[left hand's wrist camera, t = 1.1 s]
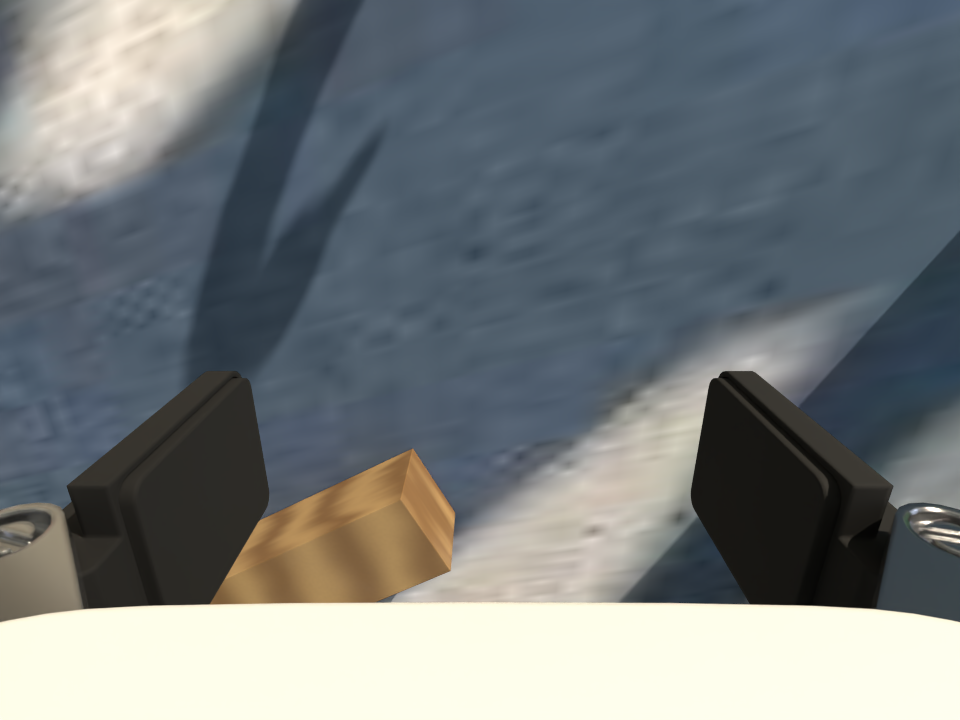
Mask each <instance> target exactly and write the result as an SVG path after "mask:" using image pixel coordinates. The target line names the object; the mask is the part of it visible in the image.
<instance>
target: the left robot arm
mask: <svg viewBox="0 0 960 720" xmlns="http://www.w3.org/2000/svg"><path fill="white" fill-rule="evenodd" d="M67 489H68V492H69V495H70V498H71V500H72V502H71V503H70V504H69V505H67V506H66V507H65V508H64V509H63V510H62V509H61V507H59V506H56V505H53V504H50V503H31V504H23V505H17V506H13V507H9V508H5V509H2V510H0V720H960V510H958V509H955V508H951V507H947V506H943V505H937V504H929V503H910V504H907V505H904V506H901V507H899V509H898V510H897V509H896V508H895V507H894V506H893V505H891V504H890V503H889V502H888V500H889V498H890V495H891V492H892V489H893V485H892V484H890V483H889V482H888V481H887V480H885V479H884V478H883V477H882V476H881V475H879V474H878V473H877V472H876V471H875V470H873V469H872V468H871V467H870V466H868V465H867V464H866V463H865V462H864V461H862V460H861V459H860V458H859V457H857V456H856V455H855V454H854V453H853V452H851V451H850V450H849V449H848V448H847V447H845V446H844V445H843V444H842V443H840V442H839V441H838V440H837V439H836V438H834V437H833V436H832V435H831V434H829V433H828V432H827V431H826V430H825V429H823V428H822V427H821V426H820V425H819V424H817V423H816V422H815V421H814V420H812V419H811V418H810V417H809V416H808V415H806V414H805V413H804V412H803V411H801V410H800V409H799V408H798V407H797V406H795V405H794V404H793V403H792V402H791V401H789V400H788V399H787V398H786V397H784V396H783V395H782V394H781V393H780V392H778V391H777V390H776V389H775V388H774V387H772V386H771V385H770V384H769V383H767V382H766V381H765V380H764V379H763V378H761V377H760V376H759V375H758V374H756V373H755V372H753V371H724V372H722V373H721V374H720V375H719V377H718V378H713V379H712V380H711V382H710V385H709V389H708V395H707V401H706V406H705V412H704V418H703V424H702V430H701V435H700V441H699V447H698V453H697V459H696V464H695V470H694V476H693V482H692V488H691V501H692V505H693V508H694V510H695V512H696V513H697V515H698V517H699V518H700V520H701V522H702V524H703V525H704V527H705V529H706V530H707V532H708V534H709V535H710V537H711V539H712V540H713V542H714V544H715V546H716V547H717V549H718V551H719V552H720V554H721V556H722V557H723V559H724V561H725V563H726V564H727V566H728V568H729V569H730V571H731V573H732V574H733V576H734V578H735V579H736V581H737V583H738V585H739V586H740V588H741V590H742V591H743V593H744V595H745V596H746V598H747V600H748V601H749V603H750V605H743V604H689V603H530V602H430V603H271V604H217V605H210V603H211V601H212V600H213V598H214V596H215V595H216V593H217V591H218V590H219V588H220V586H221V585H222V583H223V581H224V579H225V578H226V576H227V574H228V573H229V571H230V569H231V568H232V566H233V564H234V563H235V561H236V559H237V557H238V556H239V554H240V552H241V551H242V549H243V547H244V546H245V544H246V542H247V540H248V539H249V537H250V535H251V534H252V532H253V530H254V529H255V527H256V525H257V524H258V522H259V520H260V518H261V517H262V515H263V513H264V512H265V510H266V508H267V505H268V501H269V488H268V482H267V476H266V470H265V464H264V459H263V453H262V447H261V441H260V435H259V430H258V424H257V418H256V412H255V406H254V401H253V395H252V389H251V385H250V382H249V380H248V379H247V378H242V377H241V376H240V374H239V373H238V372H236V371H207V372H205V373H204V374H202V375H201V376H200V377H199V378H197V379H196V380H195V381H194V382H193V383H191V384H190V385H189V386H188V387H186V388H185V389H184V390H183V391H182V392H180V393H179V394H178V395H177V396H176V397H174V398H173V399H172V400H171V401H169V402H168V403H167V404H166V405H165V406H163V407H162V408H161V409H160V410H158V411H157V412H156V413H155V414H154V415H152V416H151V417H150V418H149V419H148V420H146V421H145V422H144V423H143V424H141V425H140V426H139V427H138V428H137V429H135V430H134V431H133V432H132V433H131V434H129V435H128V436H127V437H126V438H124V439H123V440H122V441H121V442H120V443H118V444H117V445H116V446H115V447H113V448H112V449H111V450H110V451H109V452H107V453H106V454H105V455H104V456H103V457H101V458H100V459H99V460H98V461H96V462H95V463H94V464H93V465H92V466H90V467H89V468H88V469H87V470H85V471H84V472H83V473H82V474H81V475H79V476H78V477H77V478H76V479H75V480H73V481H72V482H71V483H70V484H68V485H67Z"/></svg>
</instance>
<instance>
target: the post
mask: <svg viewBox="0 0 960 720" xmlns="http://www.w3.org/2000/svg"><path fill="white" fill-rule="evenodd" d="M454 520H455V512H454V510H453V509H452V507H451V506H450V504H449V503H448V501H447V500H446V498H445V497H444V495H443V494H442V492H441V491H440V489H439V488H438V486H437V485H436V483H435V482H434V480H433V479H432V477H431V475H430V474H429V472H428V471H427V469H426V468H425V466H424V465H423V463H422V462H421V460H420V459H419V457H418V456H417V454H416V453H415V451H414V450H413V449H411V450H409V451H407V452H404V453H402V454H400V455H398V456H396V457H394V458H392V459H390V460H387V461H385V462H383V463H381V464H379V465H377V466H375V467H373V468H370V469H368V470H366V471H364V472H362V473H360V474H358V475H355V476H353V477H351V478H349V479H347V480H345V481H343V482H341V483H338V484H336V485H334V486H332V487H330V488H328V489H326V490H324V491H321V492H319V493H317V494H315V495H313V496H311V497H309V498H307V499H304V500H302V501H300V502H298V503H296V504H294V505H292V506H290V507H287V508H285V509H283V510H281V511H279V512H277V513H275V514H272V515H270V516H268V517H266V518H264V519H262V520H260V521H259V522H258V524H257V525H256V527H255V529H254V530H253V532H252V534H251V535H250V537H249V539H248V540H247V542H246V544H245V546H244V547H243V549H242V551H241V552H240V554H239V556H238V557H237V559H236V561H235V563H234V564H233V566H232V568H231V569H230V571H229V573H228V574H227V576H226V578H225V579H224V581H223V583H222V585H221V586H220V588H219V590H218V591H217V593H216V595H215V596H214V598H213V600H212V601H211V603H210V605H217V604H271V603H375V602H377V601H380V600H382V599H384V598H387V597H389V596H392V595H394V594H396V593H399V592H401V591H404V590H406V589H408V588H411V587H413V586H416V585H418V584H420V583H423V582H425V581H428V580H430V579H432V578H435V577H437V576H440V575H442V574H444V573H447V572H449V571H451V559H452V546H453V533H454Z"/></svg>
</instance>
